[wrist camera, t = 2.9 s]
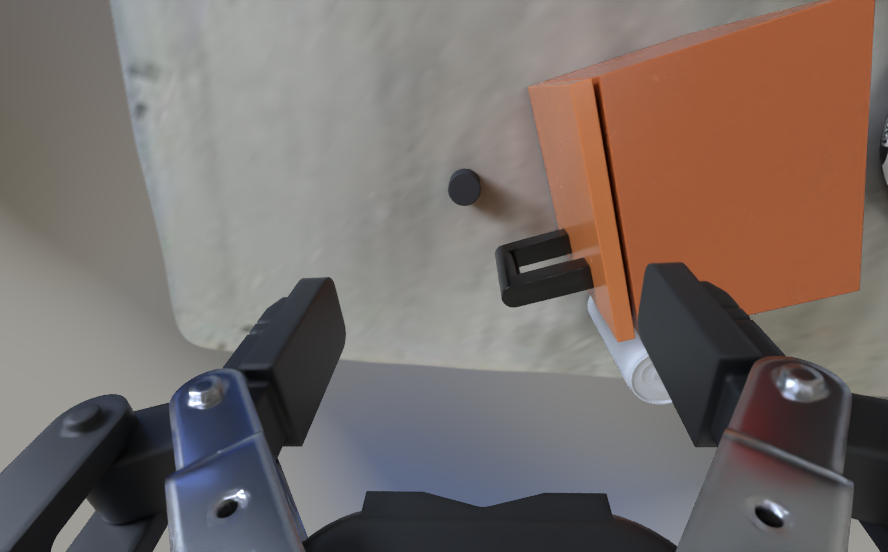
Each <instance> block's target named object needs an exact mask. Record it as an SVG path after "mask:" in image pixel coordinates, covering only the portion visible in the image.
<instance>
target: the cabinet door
mask: <svg viewBox="0 0 888 552" xmlns="http://www.w3.org/2000/svg"><path fill="white" fill-rule="evenodd" d="M528 91H529V96H530V100H531V105H532V109H533V114H534V118H535V123H536V128H537V132H538V137H539V141H540V146H541V150H542V155H543V160H544V164H545V169H546V173H547V178H548V182H549V187H550V192H551V196H552V201H553V205H554V210H555V215H556V219H557V224H558V228H559V230H556V231H553V232H549V233H545V234H542V235H538V236H534V237H530V238H527V239H523V240H519V241H516V242H512V243H508V244H505V245H502V246H500V247H498V248H497V250H496V252H495V258H496V265H497V271H498V277H499V284H500V290H501V297H502V301H503V302H504V304H505V305H507V306H509V307H519V306H523V305H527V304H531V303H535V302H539V301H543V300H547V299H552V298H556V297H560V296H564V295H568V294H572V293H576V292H580V291H584V290H587V291H588V293H589V294H590V296H591V298H592V299H593V301H594V303H595V305H596V306H597V308H598V310H599V311H600V313H601V315H602V316H603V318H604V320H605V322H606V323H607V325H608V327H609V328H610V330H611V332H612V334H613V335H614V337H615V339H616V340H617V342H623V341H627V340H632V339H635V333H634V327H633V321H632V315H631V309H630V303H629V297H628V291H627V285H626V279H625V273H624V267H623V261H622V255H621V249H620V243H619V237H618V231H617V225H616V219H615V213H614V207H613V201H612V195H611V189H610V183H609V177H608V170H607V164H606V158H605V152H604V146H603V140H602V134H601V128H600V122H599V116H598V110H597V104H596V98H595V92H594V86H593V80H592V79H580V80H568V81H557V82H545V83H538V84H535V85H532V86H529V87H528ZM564 255H567V257H568V258H569V260H570V261H567V262H563V263H559V264H555V265H552V266H548V267H544V268H540V269H536V270H532V271H528V272H525V273H520V269H519V267H521V266H525V265H529V264H533V263H537V262H541V261H544V260H548V259H552V258H556V257H560V256H564Z"/></svg>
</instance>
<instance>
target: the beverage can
mask: <svg viewBox="0 0 888 552" xmlns="http://www.w3.org/2000/svg"><path fill="white" fill-rule="evenodd" d="M587 307H588V312H589V314H590V316H591V318H592V320H593V322H594V323H595V325H596V327H597V329H598V331H599V333H600V335H601V336H602V338H603V340H604V342H605V344H606V346H607V348H608V349H609V351H610V353H611V355H612V357H613V359H614V361H615V362H616V364H617V366H618V368H619V370H620V372H621V374H622V376H623V377H624V379H625V381H626V383H627V385H628V387H629V388H630V389H631V390H632V391H633V392H634V394H635V395H636V396H637V397H639V398H640V399H641V400H643V401H645V402H647V403H651V404H668V403H673V402H672V400H671V398H670V396H669V395H668V393H667V391H666V389H665V387H664V385H663V383H662V381H661V379H660V377H659V375H658V373H657V371H656V369H655V367H654V365H653V363H652V361H651V359H650V357H649V355H648V353H647V351H646V349H645V347H644V345H643V343H642V341H641V339H640V336H639V335H638V333H637V332H636V330H635V329H634V333H635V339H632V340H627V341H623V342H617V340H616V339H615V337H614V335H613V334H612V332H611V330H610V328H609V327H608V325H607V323H606V322H605V320H604V318H603V316H602V315H601V313H600V311H599V310H598V308H597V306H596V305H595V303H594V301H593V299H592V298H591V296H590V297H589V299H588V306H587Z"/></svg>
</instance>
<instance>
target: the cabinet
mask: <svg viewBox="0 0 888 552" xmlns="http://www.w3.org/2000/svg"><path fill="white" fill-rule="evenodd" d="M874 10H875V0H821V1H817V2H813V3H809V4H805V5H801V6H797V7H793V8H789V9H785V10H781V11H777V12H773V13H769V14H765V15H761V16H757V17H753V18H749V19H745V20H741V21H737V22H733V23H729V24H725V25H721V26H717V27H713V28H710V29H706V30H702V31H698V32H694V33H690V34H687V35H684V36H681V37H678V38H675V39H672V40H669V41H665V42H662V43H659V44H656V45H653V46H650V47H647V48H644V49H641V50H638V51H635V52H632V53H629V54H626V55H623V56H620V57H617V58H614V59H611V60H608V61H605V62H602V63H599V64H596V65H592V66H589V67H586V68H583V69H580V70H577V71H574V72H571V73H568V74H565V75H562V76H559V77H556V78H553V79H550V80H547V81H544V83H545V82H557V81H568V80H580V79H592V80H593V86H594V92H595V98H596V104H597V110H598V116H599V122H600V128H601V134H602V140H603V146H604V152H605V158H606V164H607V170H608V177H609V183H610V189H611V195H612V201H613V207H614V213H615V219H616V225H617V231H618V237H619V243H620V249H621V255H622V261H623V267H624V273H625V279H626V285H627V291H628V297H629V303H630V309H631V315H632V321H633V327H634V329H635V330H636V332H637V333H638V335H639V331H638V312H639V305H640V299H641V292H642V286H643V279H644V273H645V269H646V267H647V265H648V264H650V263H669V262H683V263H684V264H685V265H686V266H687V267H688V268H689V269H690V271H691V272H692V273H693V274H694V275H695V276H696V278H697V279H698V280H699V281H708V282H710V283H712V284H713V285H715V286H717V287H719V288H721V289H722V290H724V291H726V292H727V293H728V294H729V295H730V296H731V297H732V298H733V299H734V300H735V301H736V302H737V304H738V305H739V308H742V309H743V310H744V311H745V312H746V313H747V314H748V315H751V314H756V313H760V312H765V311H769V310H774V309H778V308H783V307H787V306H792V305H796V304H800V303H805V302H809V301H814V300H818V299H823V298H827V297H832V296H836V295H841V294H845V293H850V292H854V291H859V290H860V271H861V253H862V234H863V215H864V197H865V178H866V159H867V141H868V122H869V103H870V85H871V66H872V47H873V29H874Z"/></svg>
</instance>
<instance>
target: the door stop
mask: <svg viewBox="0 0 888 552" xmlns="http://www.w3.org/2000/svg"><path fill="white" fill-rule="evenodd" d="M480 191H481V188H480V180H479V177H478V176H477V174H476V173H475V172H474V171H472V170H470V169H460V170H458V171H456V172H455V173H454V174H453V175H452V176H451V179H450V182H449V187H448V192H449V196H450V198H451V199H452V200H453V201H454V202H455V203H456V204H458V205H462V206H467V205H470V204H472V203H474V202H475V201H476V200H477V199H478V197H479V195H480Z"/></svg>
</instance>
